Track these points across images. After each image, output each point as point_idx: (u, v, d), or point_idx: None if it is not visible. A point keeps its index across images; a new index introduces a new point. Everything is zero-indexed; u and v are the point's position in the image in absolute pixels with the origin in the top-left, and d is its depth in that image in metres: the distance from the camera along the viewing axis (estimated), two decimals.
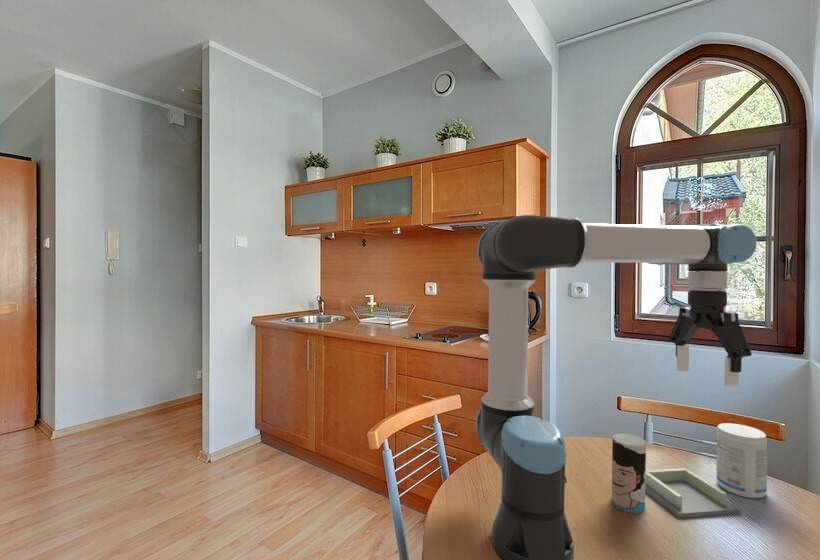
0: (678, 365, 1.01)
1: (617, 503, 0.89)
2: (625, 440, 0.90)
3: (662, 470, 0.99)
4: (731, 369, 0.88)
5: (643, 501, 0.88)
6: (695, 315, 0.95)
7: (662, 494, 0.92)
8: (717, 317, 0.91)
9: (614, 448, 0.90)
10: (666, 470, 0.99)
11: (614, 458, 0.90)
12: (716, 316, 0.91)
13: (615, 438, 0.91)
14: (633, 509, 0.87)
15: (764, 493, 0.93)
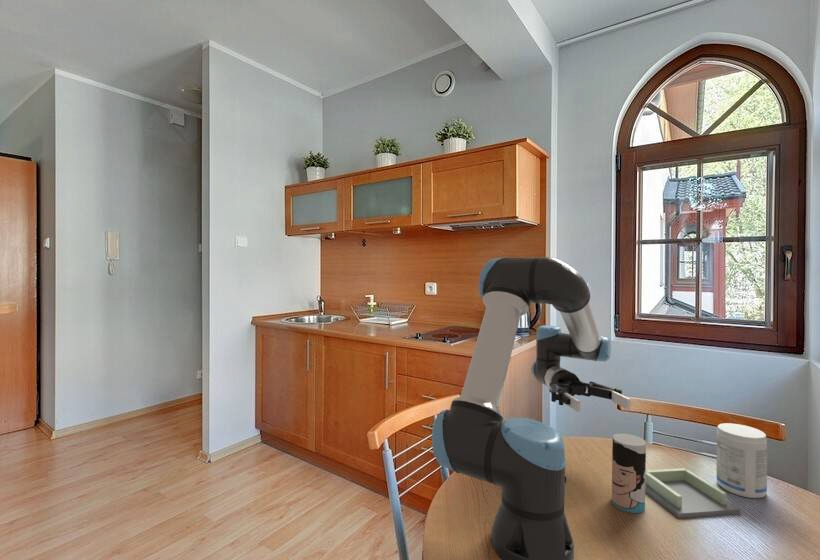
0: (576, 399, 1.00)
1: (617, 503, 0.89)
2: (625, 440, 0.90)
3: (662, 470, 0.99)
4: None
5: (643, 501, 0.88)
6: (569, 381, 1.15)
7: (662, 494, 0.92)
8: None
9: (614, 448, 0.90)
10: (666, 470, 0.99)
11: (614, 458, 0.90)
12: None
13: (615, 438, 0.91)
14: (633, 509, 0.87)
15: (764, 493, 0.93)
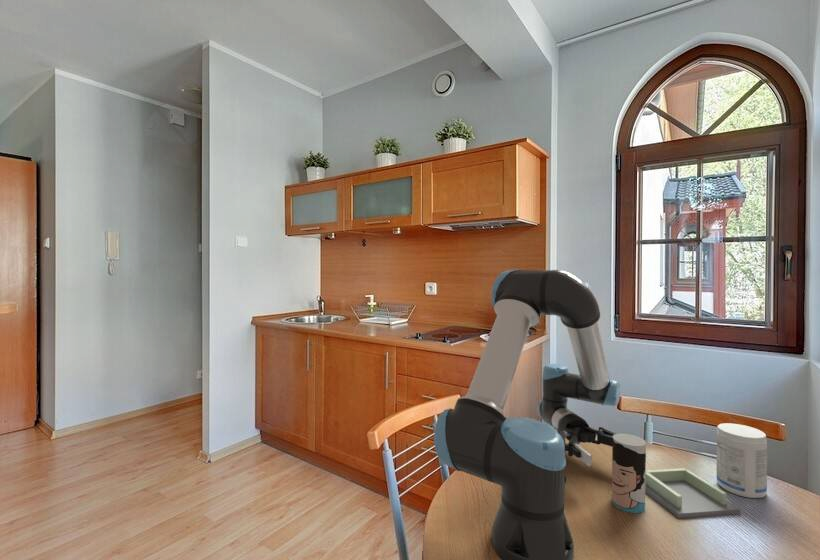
0: (587, 452, 0.96)
1: (617, 503, 0.89)
2: (625, 440, 0.90)
3: (662, 470, 0.99)
4: None
5: (643, 501, 0.88)
6: (578, 427, 1.10)
7: (662, 494, 0.92)
8: None
9: (614, 448, 0.90)
10: (666, 470, 0.99)
11: (614, 458, 0.90)
12: None
13: (615, 438, 0.91)
14: (633, 509, 0.87)
15: (764, 493, 0.93)
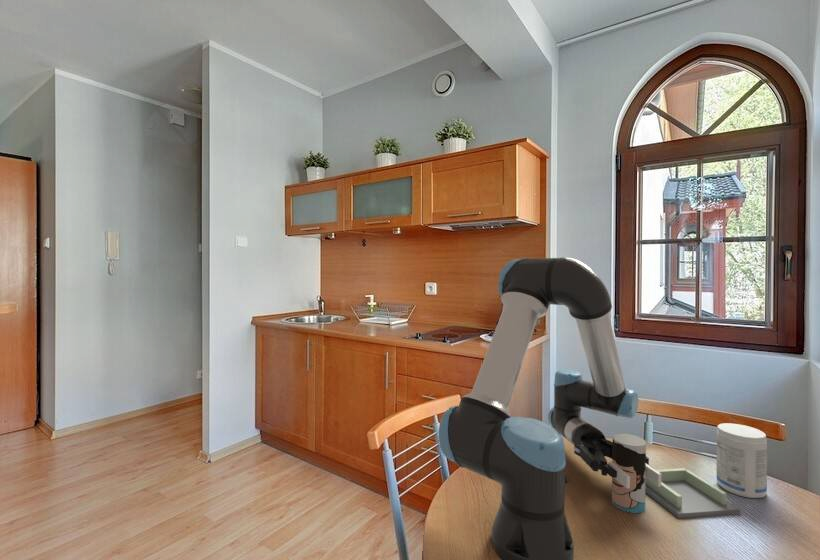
0: (624, 472, 0.86)
1: (617, 503, 0.89)
2: (625, 440, 0.90)
3: (662, 470, 0.99)
4: None
5: (643, 501, 0.88)
6: (594, 439, 1.02)
7: (662, 494, 0.92)
8: (612, 443, 1.02)
9: (614, 448, 0.90)
10: (666, 470, 0.99)
11: (614, 458, 0.90)
12: (611, 442, 1.02)
13: (615, 438, 0.91)
14: (633, 509, 0.87)
15: (764, 493, 0.93)
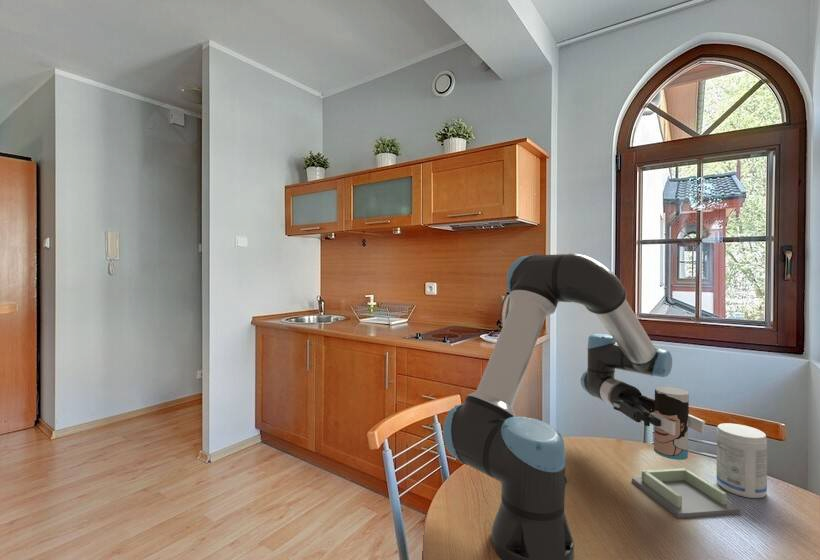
0: (669, 420, 0.89)
1: (661, 451, 0.92)
2: (668, 390, 0.93)
3: (662, 470, 0.99)
4: None
5: (686, 448, 0.91)
6: (633, 395, 1.05)
7: (662, 494, 0.92)
8: None
9: (657, 399, 0.93)
10: (666, 470, 0.99)
11: (657, 408, 0.93)
12: None
13: (658, 389, 0.94)
14: (677, 456, 0.90)
15: (764, 493, 0.93)
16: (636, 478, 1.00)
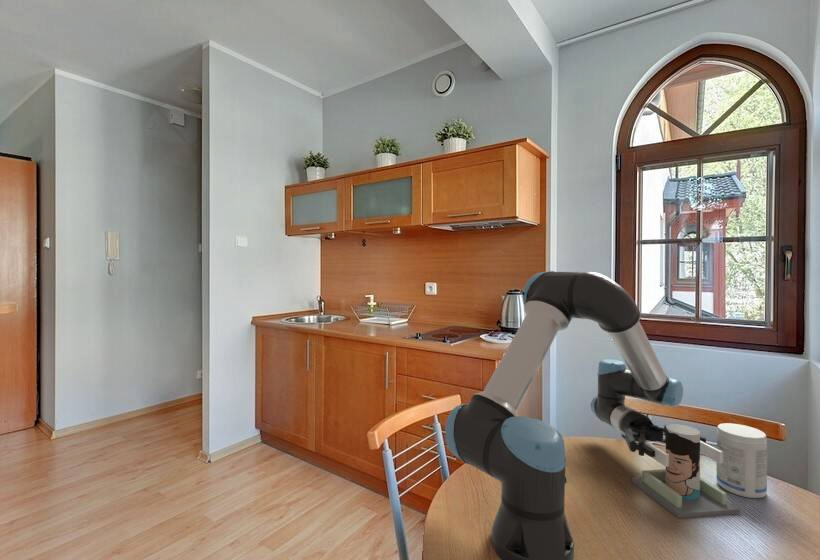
0: (663, 452, 0.91)
1: None
2: (679, 430, 0.93)
3: (662, 470, 0.99)
4: None
5: (698, 488, 0.91)
6: (644, 425, 1.05)
7: (662, 494, 0.92)
8: None
9: (668, 438, 0.94)
10: None
11: (668, 447, 0.94)
12: None
13: (669, 428, 0.94)
14: (689, 496, 0.91)
15: (764, 493, 0.93)
16: (636, 478, 1.00)
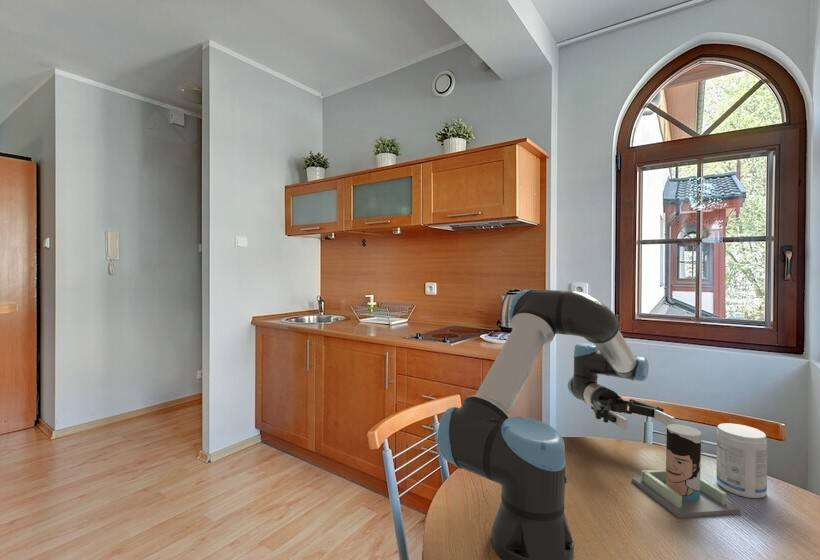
0: (622, 417, 1.05)
1: None
2: (680, 430, 0.93)
3: (662, 470, 0.99)
4: None
5: (698, 488, 0.91)
6: (611, 398, 1.19)
7: (662, 494, 0.92)
8: None
9: (669, 438, 0.94)
10: None
11: (669, 448, 0.94)
12: None
13: (670, 429, 0.94)
14: (689, 496, 0.91)
15: (764, 493, 0.93)
16: (636, 478, 1.00)
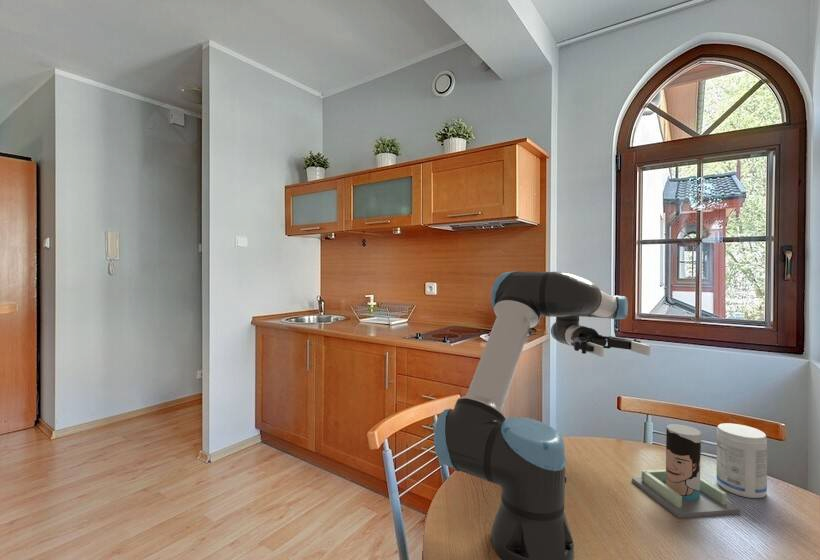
0: (599, 345, 1.07)
1: None
2: (680, 430, 0.93)
3: (662, 470, 0.99)
4: None
5: (698, 488, 0.91)
6: (590, 335, 1.21)
7: (662, 494, 0.92)
8: None
9: (669, 438, 0.94)
10: None
11: (669, 447, 0.94)
12: None
13: (669, 428, 0.94)
14: (689, 496, 0.91)
15: (764, 493, 0.93)
16: (636, 478, 1.00)
